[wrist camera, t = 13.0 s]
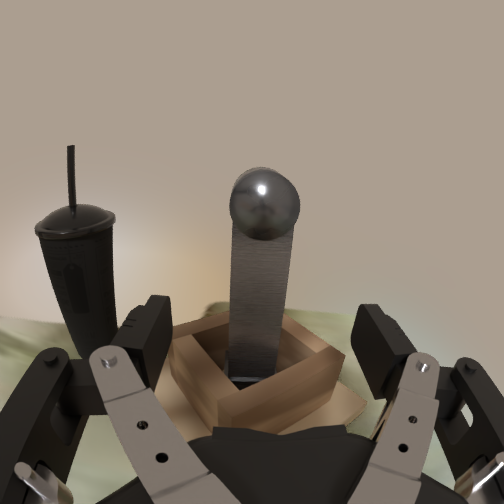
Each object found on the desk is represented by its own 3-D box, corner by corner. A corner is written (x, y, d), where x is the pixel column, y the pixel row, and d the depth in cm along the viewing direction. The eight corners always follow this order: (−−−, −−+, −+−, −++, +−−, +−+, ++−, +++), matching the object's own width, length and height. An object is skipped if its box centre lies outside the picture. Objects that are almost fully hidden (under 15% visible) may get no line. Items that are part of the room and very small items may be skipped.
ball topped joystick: (223, 406, 20) (229, 169, 14) (225, 376, 23) (231, 165, 17) (273, 406, 20) (305, 175, 14) (270, 377, 23) (293, 169, 17)
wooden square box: (140, 377, 23) (128, 320, 21) (263, 335, 31) (268, 283, 29) (220, 504, 13) (216, 466, 11) (362, 412, 21) (387, 357, 18)
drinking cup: (147, 343, 28) (132, 140, 21) (95, 383, 21) (52, 146, 14) (102, 319, 31) (83, 145, 24) (54, 349, 24) (17, 153, 17)
